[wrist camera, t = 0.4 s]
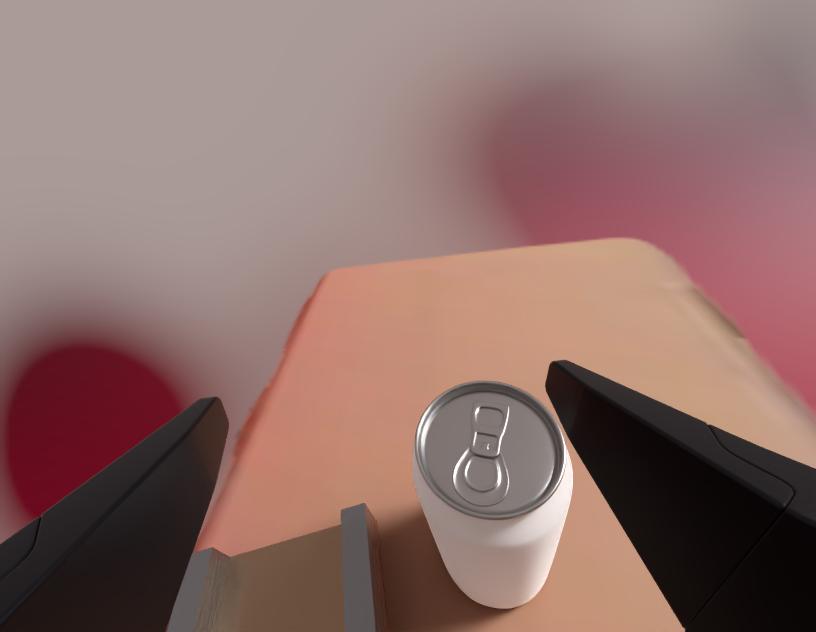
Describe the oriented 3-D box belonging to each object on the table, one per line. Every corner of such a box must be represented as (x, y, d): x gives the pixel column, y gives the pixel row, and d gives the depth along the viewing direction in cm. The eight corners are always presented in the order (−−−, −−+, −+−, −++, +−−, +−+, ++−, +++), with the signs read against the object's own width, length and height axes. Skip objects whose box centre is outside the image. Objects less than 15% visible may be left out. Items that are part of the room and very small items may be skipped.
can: (428, 587, 19) (379, 504, 12) (452, 476, 24) (427, 365, 16) (550, 631, 17) (587, 564, 9) (550, 499, 21) (575, 382, 14)
